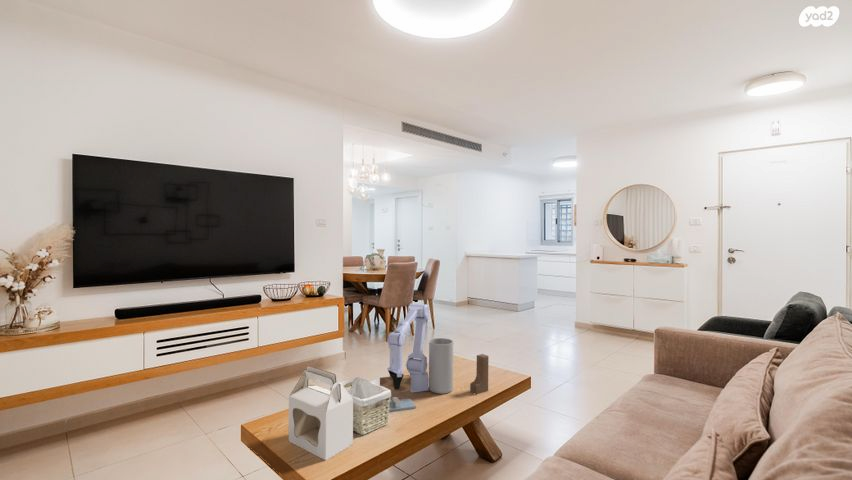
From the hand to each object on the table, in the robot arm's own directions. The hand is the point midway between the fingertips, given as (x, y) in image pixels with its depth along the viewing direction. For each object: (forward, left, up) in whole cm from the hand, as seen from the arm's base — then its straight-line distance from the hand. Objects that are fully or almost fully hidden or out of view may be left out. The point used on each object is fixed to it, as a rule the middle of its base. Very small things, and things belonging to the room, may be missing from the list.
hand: (395, 387), depth 182 cm
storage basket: (+18, +11, -9) cm, 23 cm away
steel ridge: (0, +1, -8) cm, 9 cm away
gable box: (+35, +24, -9) cm, 43 cm away
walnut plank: (0, 0, -1) cm, 1 cm away
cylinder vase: (-27, -12, -9) cm, 31 cm away
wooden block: (-45, -4, -9) cm, 46 cm away
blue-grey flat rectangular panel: (0, +1, -8) cm, 9 cm away
